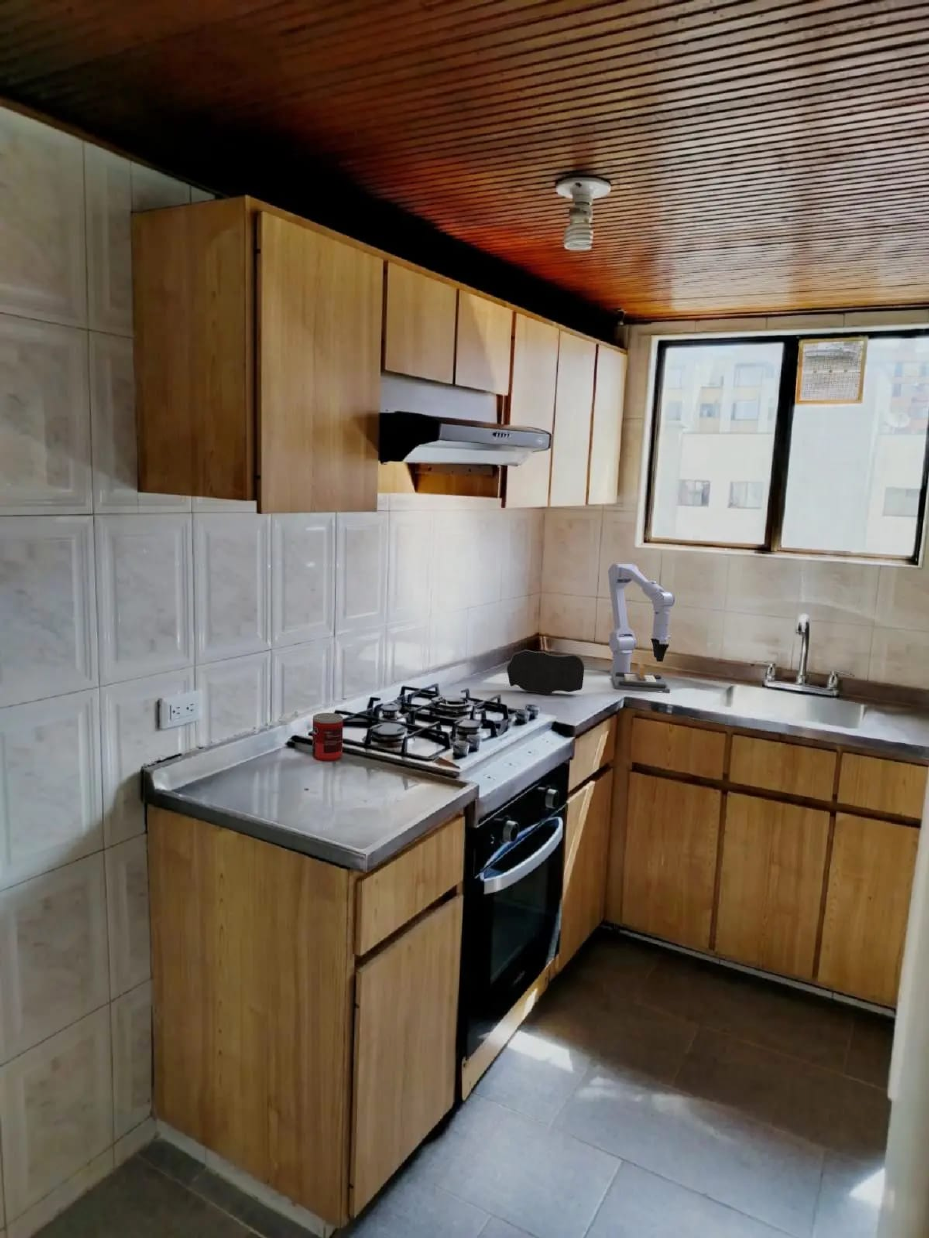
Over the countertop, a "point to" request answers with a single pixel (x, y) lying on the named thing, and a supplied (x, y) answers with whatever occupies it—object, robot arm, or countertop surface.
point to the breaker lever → (640, 673)
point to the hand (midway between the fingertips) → (658, 659)
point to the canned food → (327, 736)
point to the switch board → (659, 681)
